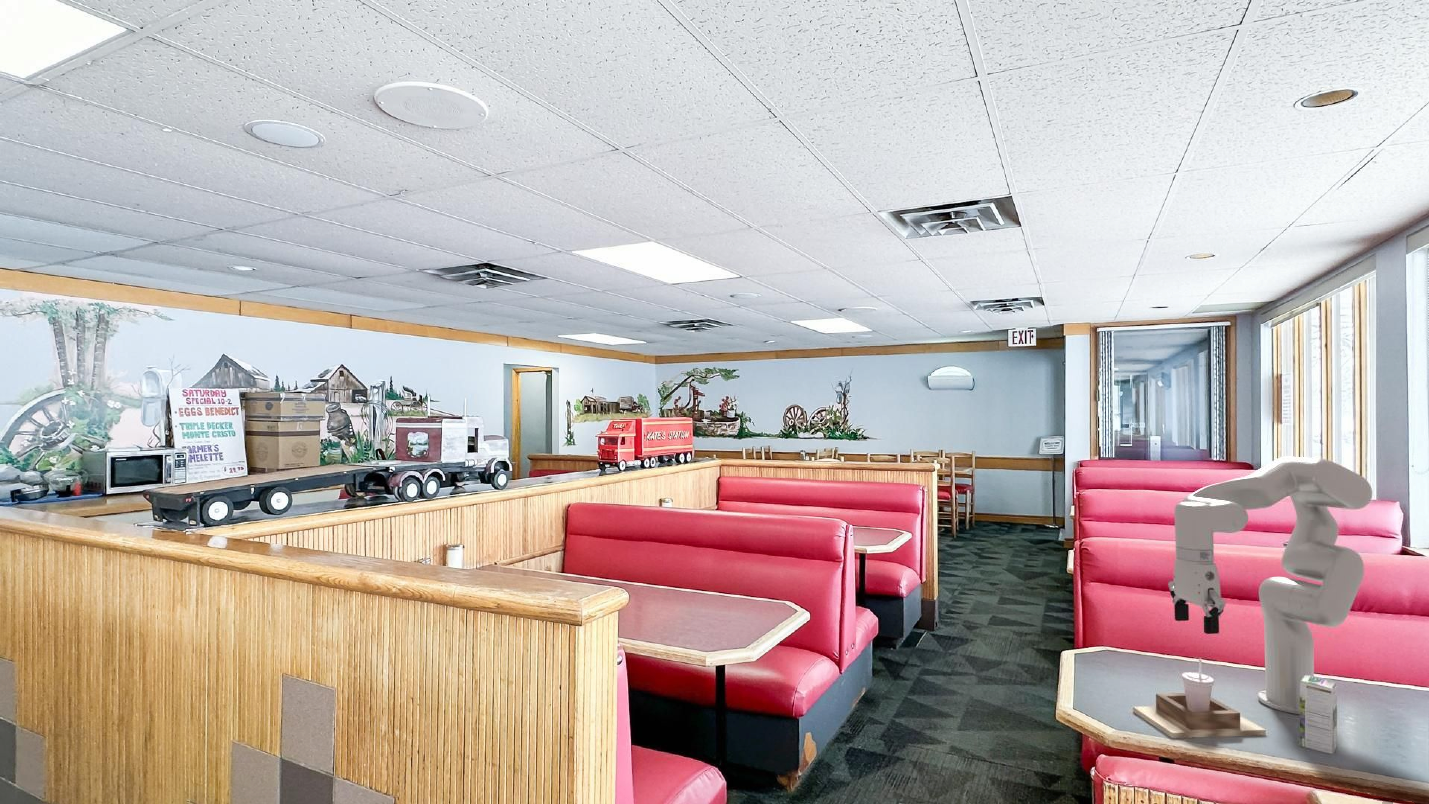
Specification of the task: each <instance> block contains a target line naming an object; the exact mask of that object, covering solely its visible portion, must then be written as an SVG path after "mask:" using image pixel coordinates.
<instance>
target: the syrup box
mask: <svg viewBox="0 0 1429 804" xmlns="http://www.w3.org/2000/svg"><path fill="white" fill-rule="evenodd" d="M1299 746H1300V747H1302V748H1306V749H1309V748H1310V750H1314V751H1318V752H1321V753H1326V754H1330V755H1334V754H1335V753H1334V752H1335V751H1336V748H1337V746H1338V682H1336V681H1334V680H1331V679H1327V678H1322V677H1319V676H1315V675H1314V676H1307V675H1305V676H1304V678H1303V679H1302V680H1301V682H1300V714H1299Z"/></svg>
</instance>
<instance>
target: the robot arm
mask: <svg viewBox="0 0 1429 804" xmlns="http://www.w3.org/2000/svg"><path fill="white" fill-rule="evenodd" d="M1288 496H1289V497H1290V499H1291V502H1292V504H1293V508H1294V510H1295V515H1296V522H1295V526H1294V528H1293V530H1292V532H1291V535H1290V537H1289V540H1288V542H1287V544H1286V547H1285V549H1284V551H1283V553H1282V557H1281V563H1280V564H1281V566H1282V569H1283V570H1284V571H1285V572H1287V573H1288V574H1289V575H1292V576H1294V577H1298V578H1301V579H1307V580H1311V581H1315V582H1320V583H1321V584H1319V583H1313V582H1309V581H1304V580H1301V579H1297V578H1296V579H1295V578H1290V577H1284V576H1271V577H1268V578H1266V579H1264V580H1263V581H1262V583H1261V584H1260V586H1259V588H1258V598H1259V603H1260V606H1261V611H1262V615H1263V626H1264V670H1265V672H1264V676H1265V678H1264V679H1265V682H1264V683H1265V690H1262V691H1259V692H1258V694H1257V699H1258V700H1259V702H1260V703H1262V704H1263V705H1265V706H1267V707H1270V708H1272V709H1275V710H1279V711H1281V712H1286V713H1290V714H1295V715H1300V682H1301V680H1302V679H1303V678H1304V676H1305V675H1307V676H1314V677H1315V667H1314V665H1315V664H1314V659H1315V658H1314V657H1315V654H1314V653H1315V652H1314V636H1313V633H1312V630H1311V628H1310V627H1309V625H1308V623H1310V624H1312V625H1313V624H1314V625H1317V626H1320V627H1321V626H1322V627H1325V628H1326V627H1327V628H1335V627H1339V626H1340V625H1342V624H1343V623H1344V622H1345V620H1346V619H1347V617H1348V616H1349V613H1350V611H1351V609H1352V607H1353V604H1354V601H1355V598H1356V596H1357V594H1358V592H1359V589H1360V587H1361V584H1362V582H1363V578H1364V574H1365V566H1364V565H1365V564H1364V561H1363V558H1362V557H1361V554H1359V553H1358V552H1357V551H1356V550H1353V549H1352V548H1350V547H1347V546H1342V545H1336V542H1337V539H1338V536H1339V533H1340V529H1339V525H1338V522H1337V521H1336V519H1335V517H1334V516H1333V514H1332V513H1331V512H1330V509H1329V508H1336V509H1343V510H1360V509H1364V508H1365V507H1367V506H1368V505H1369V504H1370V502H1371V501H1372V498H1373V489H1372V487H1371V484H1370V483H1369V481H1368V480H1367V479H1366V478H1365V477H1364V476H1362V475H1360V474H1358V473H1356V472H1355V471H1352V469H1351V470H1350V469H1349V468H1346V467H1345V466H1343V465H1341V464H1339V463H1337V462H1334V461H1332V460H1329V459H1325V458H1319V457H1318V458H1317V457H1300V456H1282V457H1278V458H1276V459H1274V460H1272V461H1270V462H1268V463H1267V464H1265V465H1263V466H1262V467H1260V468H1259V469H1257V470H1255V471H1253V472H1251V473H1250V474H1248V475H1246V476H1244V477H1239V478H1234V479H1229V480H1227V481H1223V482H1218V483H1214V484H1210V485H1207V486H1204V487H1202V488H1200V489H1197V490H1195V491H1194V492H1192V493H1191V494H1189V495H1188V496H1186V497H1185V498H1184V499H1183V500H1182V501H1181V502H1178V503H1176V505H1175V506H1174V534H1175V536H1174V537H1175V559H1174V560H1175V561H1174V567H1173V568H1174V569H1173V580H1170V581H1169V582H1168V583H1167V584H1168V588H1169V591H1170V596H1171V597H1172V603H1173V604H1174V607H1173V609H1174V610H1173V611H1174V620H1175V621H1177V622H1186V621H1187V622H1188V621H1190V613H1189V612H1190V611H1189V610H1190V609H1189V607H1190V606H1189V604H1188V603H1191V604H1193V605H1196V606H1198V607H1201V608H1202V611H1203V613H1204V615H1203V633H1204V634H1207V635H1210V634H1211V635H1215V634H1219V633H1220V621H1219V620H1220V617H1221V616H1222V615H1221V614H1223V612H1224V608H1225V606H1226V604H1227V603H1226V600H1224V598H1222V594H1221V584H1220V583H1221V582H1220V577H1219V576H1220V575H1219V571H1218V568H1217V564H1216V563H1215V558H1214V557H1215V555H1214V554H1215V553H1214V550H1215V549H1214V534H1215V533H1221V534H1222V533H1223V534H1224V533H1225V534H1234V533H1238V532H1241V531H1242V530H1243V529H1245V527H1246V526H1247V525H1248V522H1249V514H1248V512H1247V510H1258V509H1261V510H1262V509H1266V508H1269V507H1272V506H1274V505H1276V504H1278V503H1279V502H1281V501H1282V500H1283V499H1285V498H1288ZM1210 608H1211V609H1210Z"/></svg>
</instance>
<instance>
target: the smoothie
mask: <svg viewBox="0 0 1429 804" xmlns="http://www.w3.org/2000/svg"><path fill="white" fill-rule="evenodd" d="M1202 661H1203V660H1202V658H1198V672H1189V671H1188V672H1187V671H1186V672H1183V673H1181V680H1182V681H1183V686H1184V693H1185V695H1186V702H1187V709H1188V710H1190V711H1192V712H1196V711H1209V705H1210V698H1211V697H1212V696H1211V695H1212V690H1213V686H1214V685H1215V681H1214V680H1215V679H1214V678H1213V677H1211V676H1210V675H1206V674H1204V673H1202V671H1203V670H1202V669H1203V668H1202V663H1203V662H1202Z"/></svg>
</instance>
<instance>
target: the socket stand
mask: <svg viewBox="0 0 1429 804" xmlns="http://www.w3.org/2000/svg"><path fill="white" fill-rule="evenodd" d="M1132 713H1134V714H1136V715H1137V716H1138V717H1140V718H1142V719H1143V720H1145V721H1146V722H1147V723H1149V724H1151V725H1152V726H1154V727H1155V728H1156V729H1157V730H1160V732H1162V731H1163V732H1162V733H1164V734H1165V735H1167V736H1168V737H1170V738H1171V739H1187V738H1188V739H1189V738H1192V737H1194V738H1217V737H1218V738H1219V737H1220V738H1221V737H1224V738H1225V737H1246V736H1251V737H1252V736H1253V737H1254V736H1267V733H1266V732H1267V731H1266V729H1265V728H1263V727H1261V726H1260V725H1257V724H1256V723H1255V722H1252V721H1251V720H1249V719H1247V718H1246V717H1243V716H1242V715H1241V713H1240V712H1239V711H1237V710H1236V709H1233V708H1232V707H1230V706H1229V705H1226V704H1225V703H1223V702H1221V701H1219V700H1217V699H1216V698H1213V697H1212V696H1211V698H1210V705H1209V711H1196V712H1192V711H1190V710H1188V709H1187V702H1186V695H1185V692H1171V693H1167V692H1166V693H1155V705H1151V706H1145V705H1144V706H1132Z"/></svg>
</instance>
